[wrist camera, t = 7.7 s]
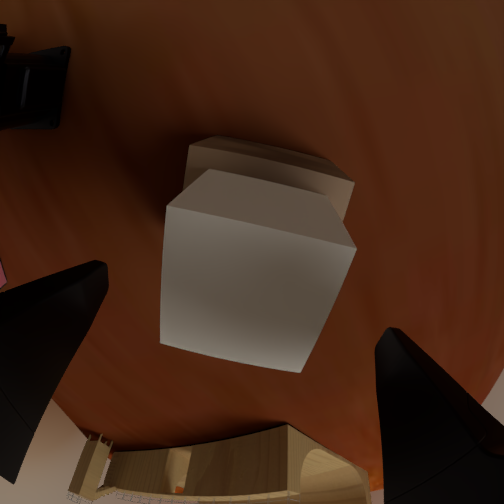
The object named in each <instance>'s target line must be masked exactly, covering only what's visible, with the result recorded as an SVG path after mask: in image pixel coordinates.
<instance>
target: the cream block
mask: <svg viewBox="0 0 504 504" xmlns="http://www.w3.org/2000/svg"><path fill="white" fill-rule="evenodd" d="M356 249H357V248H356V246H355V245H354V243H353V241H352V239H351V237H350V235H349V234H348V232H347V230H346V228H345V226H344V225H343V223H342V221H341V219H340V217H339V216H338V214H337V212H336V210H335V209H334V207H333V205H332V204H331V202H330V200H329V199H328V197H327V196H326V195H322V194H318V193H314V192H310V191H307V190H303V189H299V188H295V187H291V186H287V185H282V184H278V183H274V182H270V181H265V180H261V179H256V178H252V177H247V176H243V175H238V174H233V173H228V172H223V171H218V170H213V169H208V170H207V171H206V172H205V173H203V174H202V175H201V176H200V177H199V178H198V179H196V180H195V181H194V182H193V183H192V184H191V185H189V186H188V187H187V188H186V189H185V190H184V191H183V192H181V193H180V194H179V195H178V196H177V197H176V198H175V199H174V200H172V201H171V202H170V203H169V204H168V205H167V208H166V219H165V230H164V243H163V258H162V277H161V307H160V343H162V344H166V345H169V346H173V347H177V348H180V349H184V350H188V351H192V352H196V353H200V354H204V355H208V356H213V357H217V358H222V359H226V360H231V361H236V362H240V363H245V364H251V365H256V366H261V367H267V368H273V369H279V370H285V371H291V372H298V373H300V372H301V370H302V368H303V366H304V364H305V363H306V361H307V359H308V357H309V355H310V353H311V351H312V349H313V347H314V345H315V343H316V341H317V339H318V337H319V334H320V332H321V330H322V328H323V326H324V324H325V322H326V320H327V317H328V315H329V313H330V311H331V309H332V307H333V304H334V302H335V300H336V298H337V295H338V293H339V291H340V288H341V286H342V284H343V281H344V279H345V277H346V274H347V272H348V269H349V267H350V264H351V262H352V259H353V257H354V254H355V252H356Z"/></svg>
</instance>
